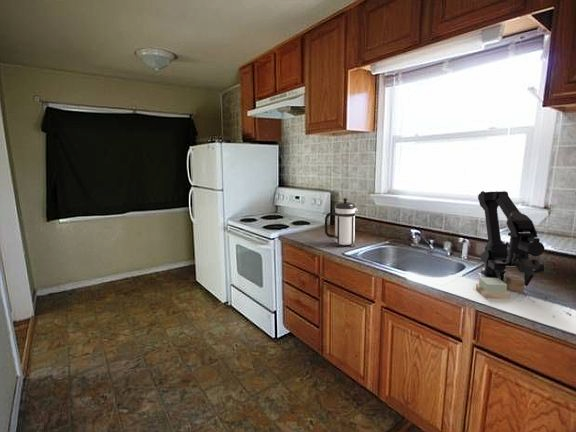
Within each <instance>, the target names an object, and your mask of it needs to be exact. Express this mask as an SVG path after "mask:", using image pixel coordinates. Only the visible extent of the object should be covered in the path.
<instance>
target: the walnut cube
mask: <svg viewBox="0 0 576 432" xmlns="http://www.w3.org/2000/svg"><path fill="white" fill-rule="evenodd" d="M504 283H505V284H507V291H508V292H524V291H525V280H524V277H521V276H520V275H518V274H515V275H514V274H504Z"/></svg>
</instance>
